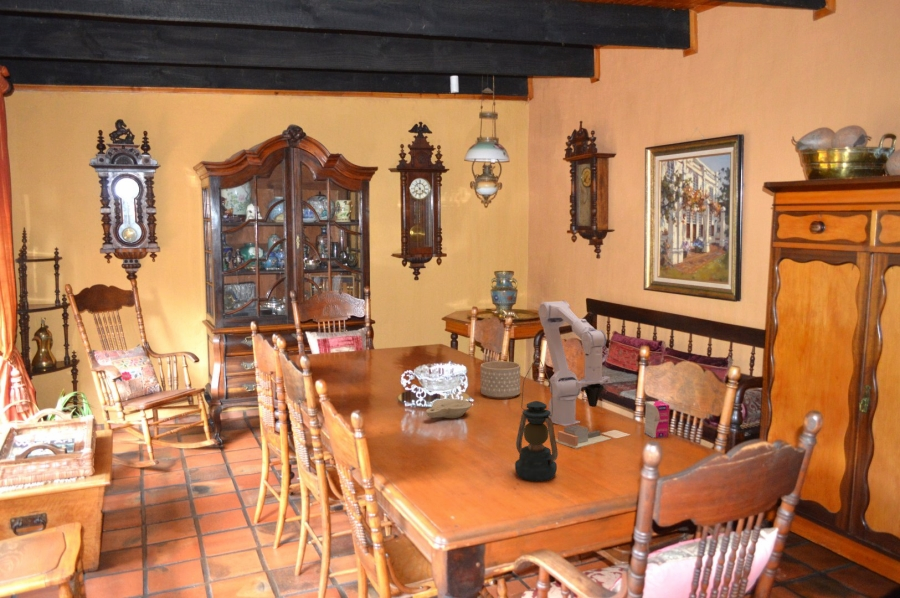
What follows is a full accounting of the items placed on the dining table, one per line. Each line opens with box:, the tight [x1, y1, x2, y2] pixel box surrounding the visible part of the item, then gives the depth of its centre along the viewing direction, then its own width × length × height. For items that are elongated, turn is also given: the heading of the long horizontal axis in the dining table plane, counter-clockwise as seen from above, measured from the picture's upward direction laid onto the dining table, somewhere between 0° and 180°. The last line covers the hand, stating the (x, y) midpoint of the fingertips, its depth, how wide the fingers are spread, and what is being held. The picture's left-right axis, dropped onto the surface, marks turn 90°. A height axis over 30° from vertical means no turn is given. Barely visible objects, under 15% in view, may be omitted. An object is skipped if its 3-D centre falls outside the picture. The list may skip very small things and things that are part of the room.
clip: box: [563, 424, 589, 443], centre depth 239 cm, size 5×6×4 cm
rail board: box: [555, 429, 612, 450], centre depth 241 cm, size 10×16×4 cm, turn 126°
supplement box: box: [644, 400, 670, 439], centre depth 246 cm, size 6×6×12 cm
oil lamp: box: [425, 398, 472, 419], centre depth 270 cm, size 21×14×5 cm
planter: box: [480, 360, 521, 400], centre depth 304 cm, size 16×16×13 cm
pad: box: [600, 429, 631, 439], centre depth 248 cm, size 7×7×1 cm
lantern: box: [514, 354, 559, 483], centre depth 208 cm, size 14×12×35 cm
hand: (592, 406), depth 247 cm, fingers closed
